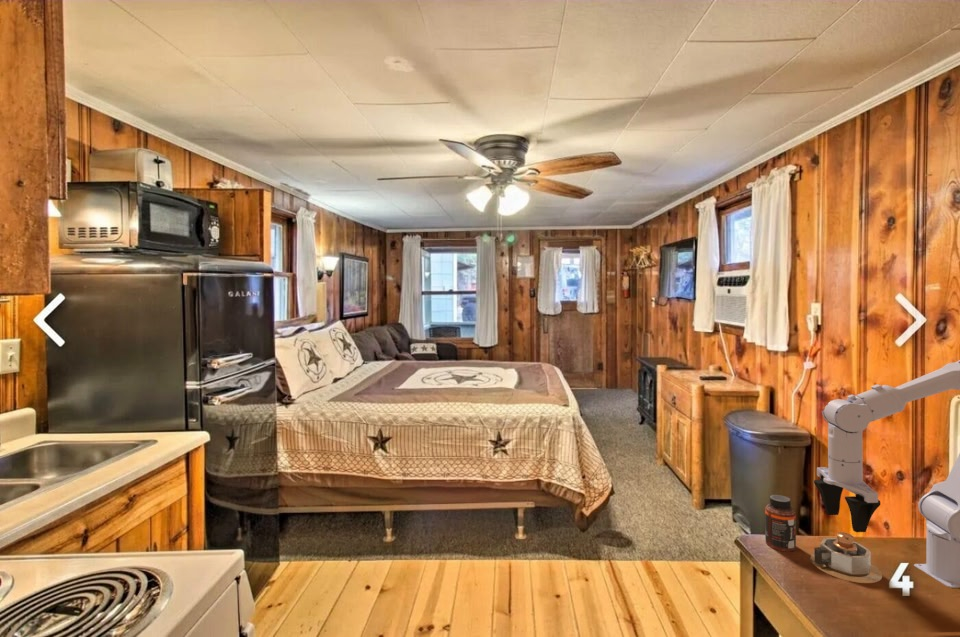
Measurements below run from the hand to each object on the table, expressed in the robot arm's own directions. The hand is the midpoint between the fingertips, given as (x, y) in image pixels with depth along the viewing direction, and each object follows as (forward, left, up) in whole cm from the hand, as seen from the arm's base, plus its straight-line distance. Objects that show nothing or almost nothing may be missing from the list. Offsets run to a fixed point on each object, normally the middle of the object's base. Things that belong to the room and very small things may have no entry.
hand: (845, 522), depth 100 cm
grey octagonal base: (0, 0, -10) cm, 10 cm away
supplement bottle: (+8, -9, -10) cm, 16 cm away
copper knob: (0, 0, -8) cm, 8 cm away
